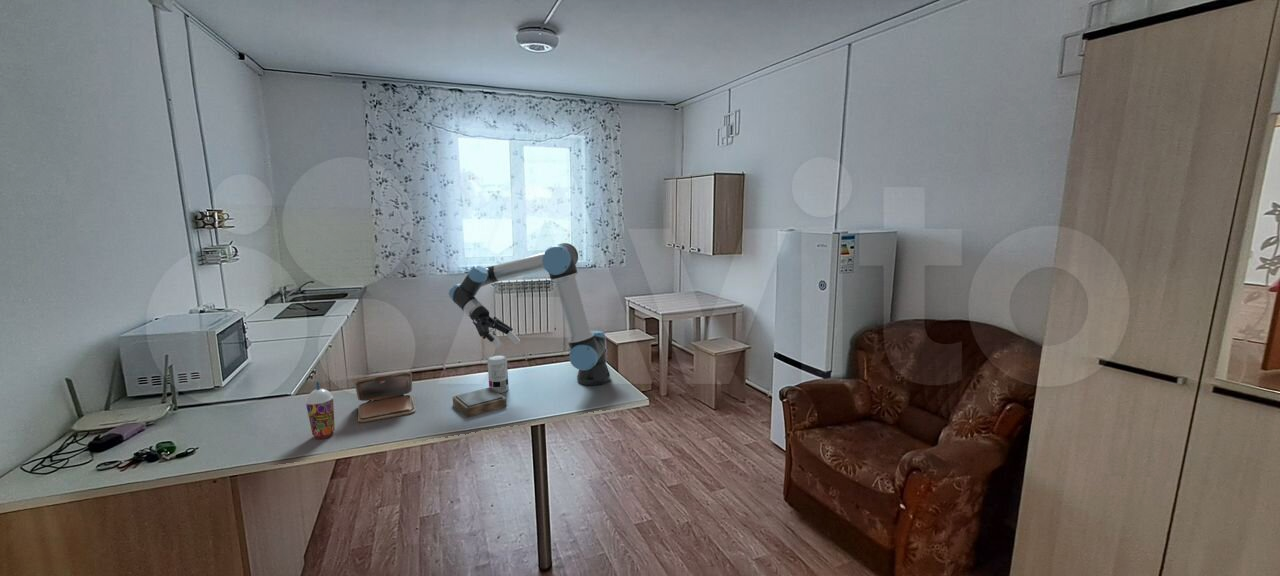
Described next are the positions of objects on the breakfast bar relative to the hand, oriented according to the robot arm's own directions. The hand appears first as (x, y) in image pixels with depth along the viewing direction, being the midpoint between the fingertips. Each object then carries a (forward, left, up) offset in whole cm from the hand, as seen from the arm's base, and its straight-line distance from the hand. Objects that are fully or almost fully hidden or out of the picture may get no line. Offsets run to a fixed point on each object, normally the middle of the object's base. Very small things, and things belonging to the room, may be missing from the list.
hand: (509, 344), depth 211 cm
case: (+45, -20, -23) cm, 54 cm away
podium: (+15, +1, -23) cm, 27 cm away
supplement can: (+2, -10, -23) cm, 25 cm away
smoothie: (+68, -9, -23) cm, 72 cm away
